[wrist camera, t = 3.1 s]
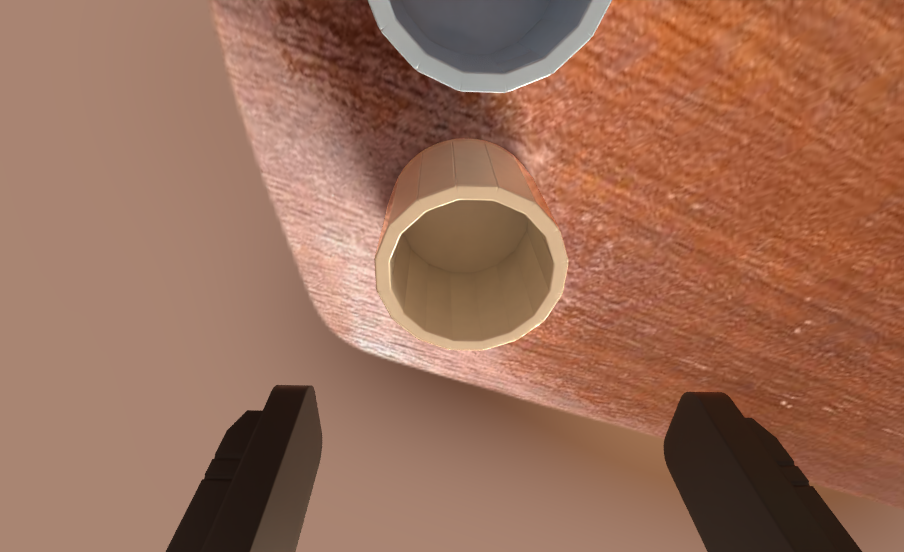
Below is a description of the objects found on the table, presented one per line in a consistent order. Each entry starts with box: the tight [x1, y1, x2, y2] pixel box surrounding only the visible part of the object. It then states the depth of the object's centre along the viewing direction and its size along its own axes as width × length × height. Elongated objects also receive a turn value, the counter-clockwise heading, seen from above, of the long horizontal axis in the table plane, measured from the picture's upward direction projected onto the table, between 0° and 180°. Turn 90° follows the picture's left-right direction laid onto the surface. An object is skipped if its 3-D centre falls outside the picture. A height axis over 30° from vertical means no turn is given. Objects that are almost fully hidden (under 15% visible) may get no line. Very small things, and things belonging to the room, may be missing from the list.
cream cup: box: [374, 138, 568, 350], centre depth 18 cm, size 6×6×6 cm
